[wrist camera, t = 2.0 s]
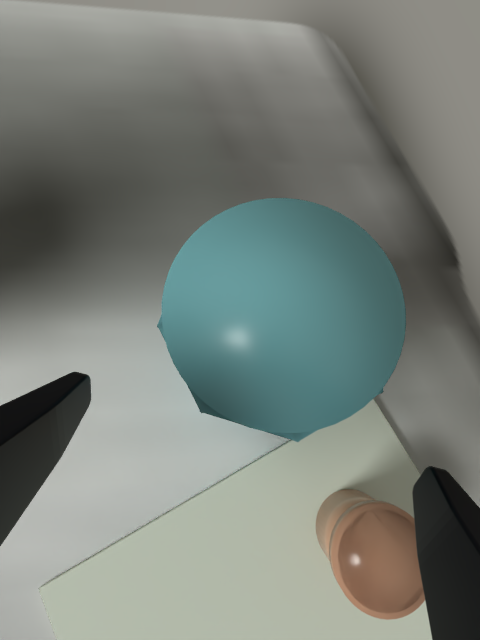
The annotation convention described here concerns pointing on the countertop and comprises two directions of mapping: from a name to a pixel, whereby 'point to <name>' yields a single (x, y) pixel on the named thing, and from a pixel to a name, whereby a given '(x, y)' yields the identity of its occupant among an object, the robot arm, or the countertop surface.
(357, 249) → the teal rounded cylinder
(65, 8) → the countertop surface
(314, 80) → the countertop surface
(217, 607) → the sage mat
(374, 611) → the terracotta pot
